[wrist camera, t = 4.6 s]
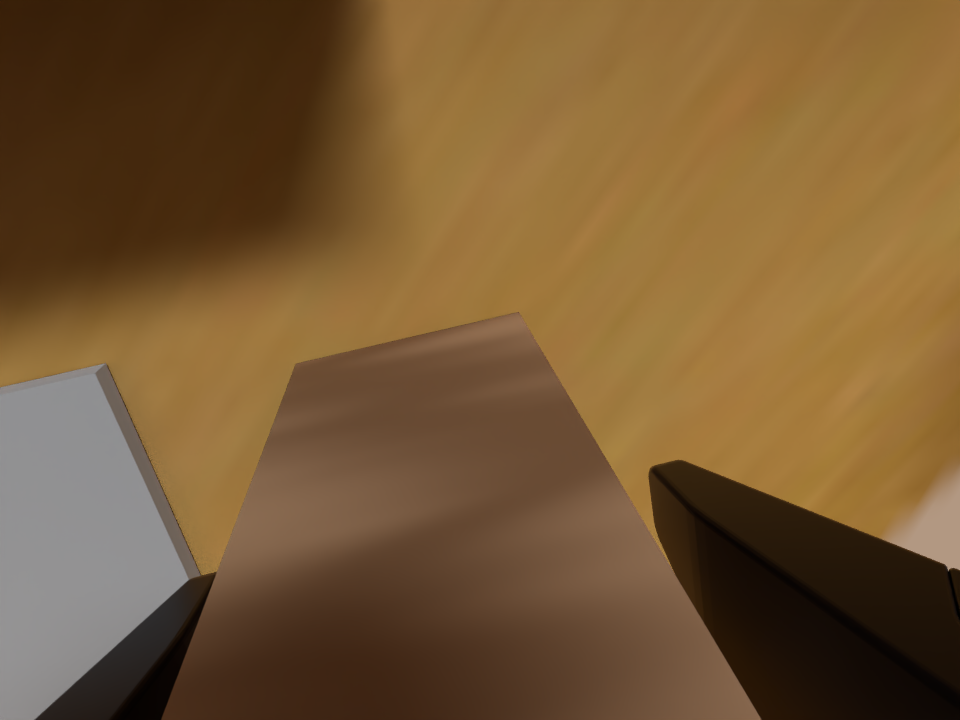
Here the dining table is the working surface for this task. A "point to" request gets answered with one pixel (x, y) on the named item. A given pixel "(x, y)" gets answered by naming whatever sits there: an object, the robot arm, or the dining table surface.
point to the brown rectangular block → (445, 556)
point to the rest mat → (75, 535)
